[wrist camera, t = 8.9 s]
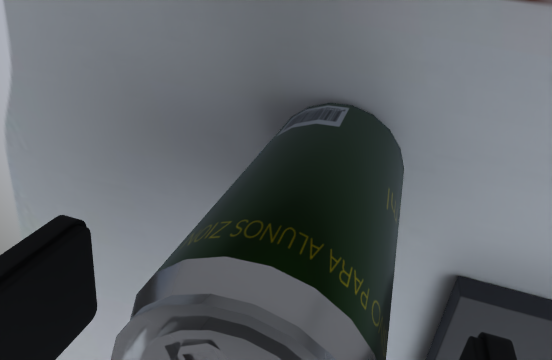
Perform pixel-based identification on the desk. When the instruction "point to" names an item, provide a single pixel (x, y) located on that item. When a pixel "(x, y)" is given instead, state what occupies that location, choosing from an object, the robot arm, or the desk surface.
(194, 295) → the beer can
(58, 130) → the desk surface
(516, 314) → the scale
